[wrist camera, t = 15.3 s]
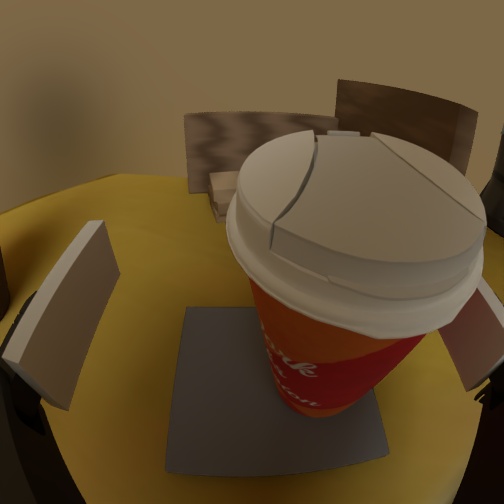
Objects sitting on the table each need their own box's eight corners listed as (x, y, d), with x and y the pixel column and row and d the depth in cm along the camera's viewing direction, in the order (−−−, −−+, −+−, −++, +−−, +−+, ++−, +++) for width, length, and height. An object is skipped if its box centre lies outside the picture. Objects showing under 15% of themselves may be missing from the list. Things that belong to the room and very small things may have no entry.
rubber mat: (343, 310, 22) (345, 303, 22) (384, 456, 12) (389, 453, 11) (187, 313, 22) (186, 306, 22) (168, 472, 12) (164, 470, 11)
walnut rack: (337, 189, 43) (350, 81, 33) (411, 307, 22) (478, 112, 12) (191, 188, 42) (185, 74, 32) (146, 316, 21) (95, 80, 11)
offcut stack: (289, 194, 42) (292, 166, 39) (309, 215, 36) (313, 184, 34) (208, 202, 39) (206, 173, 36) (215, 226, 34) (213, 193, 31)
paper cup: (261, 329, 19) (235, 126, 10) (367, 324, 18) (425, 131, 9) (256, 437, 14) (180, 304, 4) (382, 428, 13) (550, 276, 3)
